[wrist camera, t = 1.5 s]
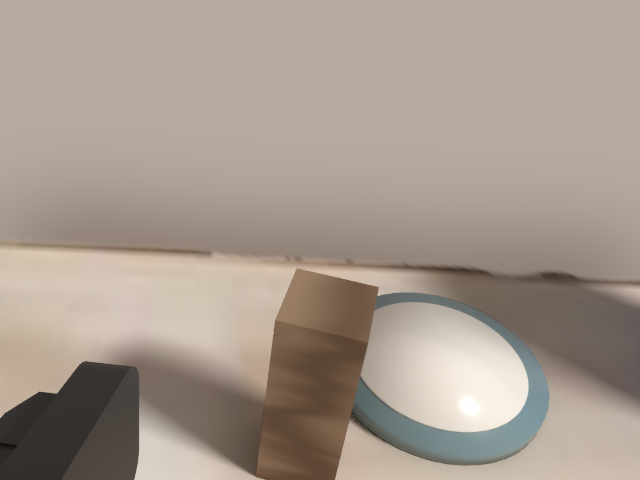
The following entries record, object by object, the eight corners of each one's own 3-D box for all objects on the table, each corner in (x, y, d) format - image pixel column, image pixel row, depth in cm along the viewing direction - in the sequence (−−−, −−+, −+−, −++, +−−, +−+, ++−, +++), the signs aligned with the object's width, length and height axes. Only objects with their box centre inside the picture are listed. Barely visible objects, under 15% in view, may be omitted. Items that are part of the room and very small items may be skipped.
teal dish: (308, 429, 37) (311, 414, 36) (346, 286, 50) (349, 273, 50) (559, 493, 35) (567, 479, 35) (529, 328, 49) (535, 316, 48)
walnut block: (255, 476, 34) (275, 320, 27) (275, 417, 37) (296, 268, 31) (330, 496, 33) (368, 342, 27) (342, 435, 37) (378, 287, 31)
